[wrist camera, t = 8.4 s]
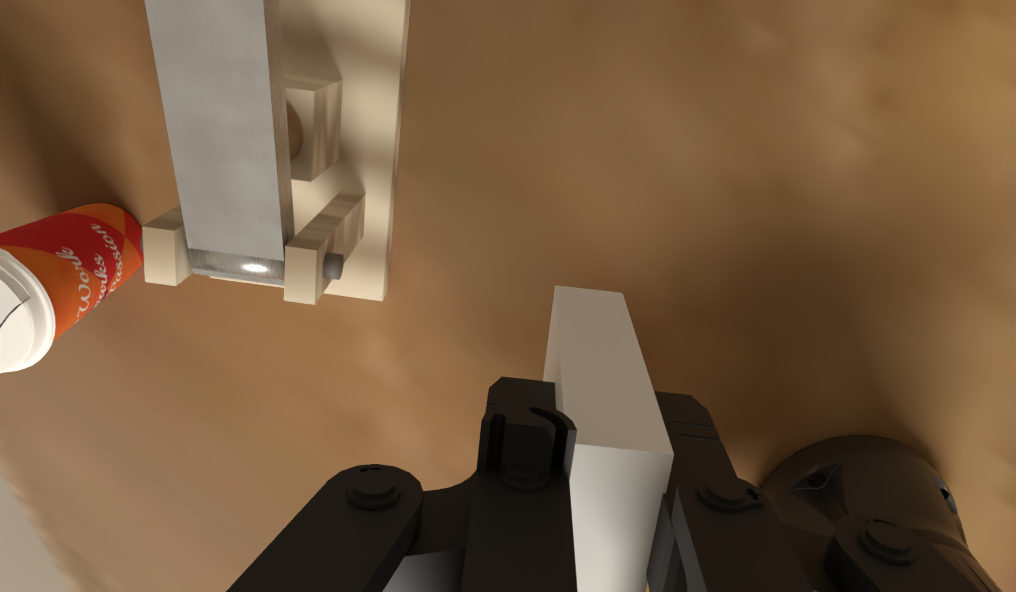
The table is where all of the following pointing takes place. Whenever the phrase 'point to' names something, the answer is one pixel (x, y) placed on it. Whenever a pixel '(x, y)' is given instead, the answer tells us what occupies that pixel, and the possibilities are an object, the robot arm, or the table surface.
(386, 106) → the press base
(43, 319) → the paper cup
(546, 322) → the table surface
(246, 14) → the lever
